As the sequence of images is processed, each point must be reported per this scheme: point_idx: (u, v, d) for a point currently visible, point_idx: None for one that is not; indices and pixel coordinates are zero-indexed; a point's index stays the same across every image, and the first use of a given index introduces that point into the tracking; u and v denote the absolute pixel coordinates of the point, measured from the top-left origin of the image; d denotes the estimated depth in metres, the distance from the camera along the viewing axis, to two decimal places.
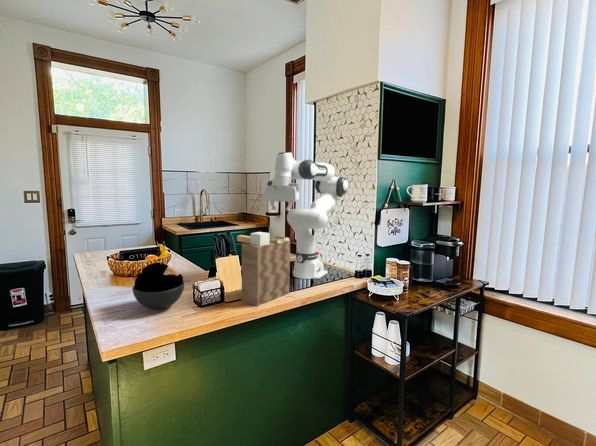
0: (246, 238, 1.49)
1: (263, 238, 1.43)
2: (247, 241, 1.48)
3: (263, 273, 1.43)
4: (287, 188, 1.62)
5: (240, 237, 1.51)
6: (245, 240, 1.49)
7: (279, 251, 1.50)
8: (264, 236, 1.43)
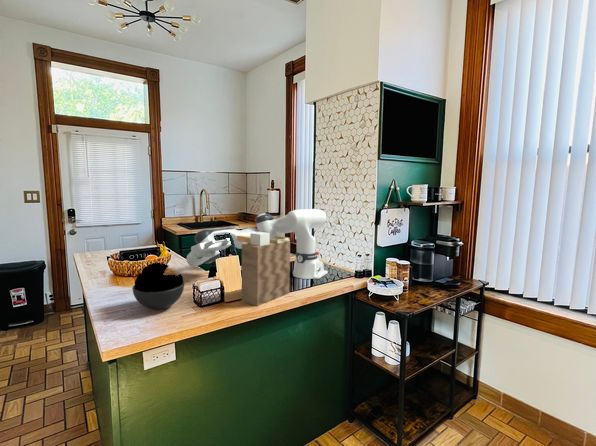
0: (246, 238, 1.49)
1: (263, 238, 1.43)
2: (247, 241, 1.48)
3: (263, 273, 1.43)
4: None
5: (240, 237, 1.51)
6: (245, 240, 1.49)
7: (279, 251, 1.50)
8: (264, 236, 1.43)
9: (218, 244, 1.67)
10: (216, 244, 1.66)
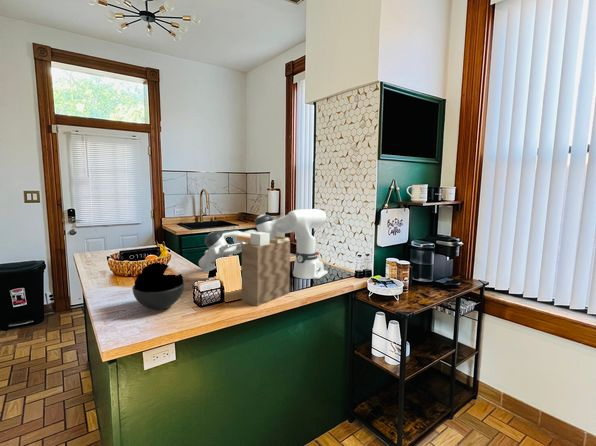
0: (246, 238, 1.49)
1: (263, 238, 1.43)
2: (247, 241, 1.48)
3: (263, 273, 1.43)
4: None
5: (240, 237, 1.51)
6: (245, 240, 1.49)
7: (279, 251, 1.50)
8: (264, 236, 1.43)
9: (233, 248, 1.59)
10: (231, 248, 1.58)
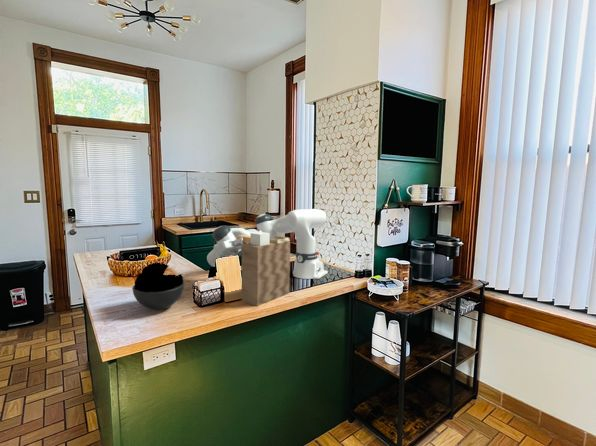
0: (246, 238, 1.49)
1: (263, 238, 1.43)
2: (247, 241, 1.48)
3: (263, 273, 1.43)
4: None
5: (240, 237, 1.51)
6: (245, 240, 1.49)
7: (279, 251, 1.50)
8: (264, 236, 1.43)
9: (242, 242, 1.55)
10: (240, 242, 1.55)
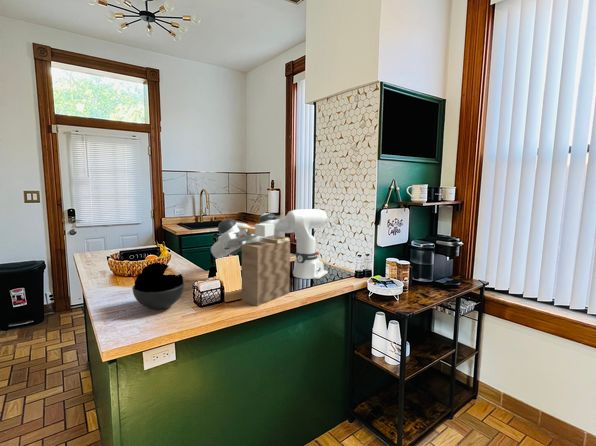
0: (250, 229, 1.50)
1: (267, 229, 1.44)
2: (251, 232, 1.50)
3: (263, 273, 1.43)
4: None
5: (244, 228, 1.53)
6: (249, 231, 1.51)
7: (279, 251, 1.50)
8: (268, 227, 1.45)
9: (246, 234, 1.57)
10: (244, 234, 1.56)
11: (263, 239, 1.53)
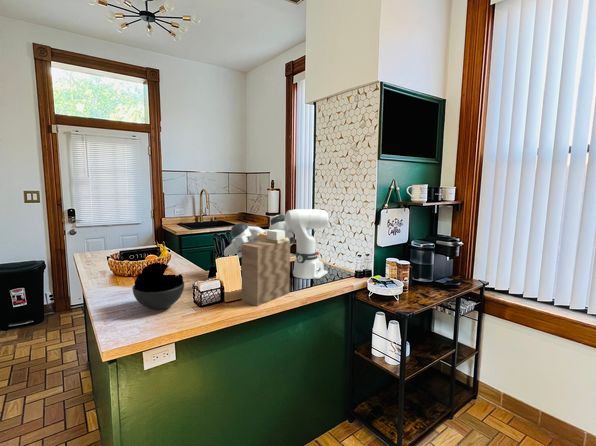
0: (262, 235, 1.57)
1: (279, 235, 1.51)
2: None
3: (263, 273, 1.43)
4: None
5: None
6: (261, 237, 1.58)
7: (279, 251, 1.50)
8: (280, 233, 1.52)
9: None
10: None
11: (263, 239, 1.53)
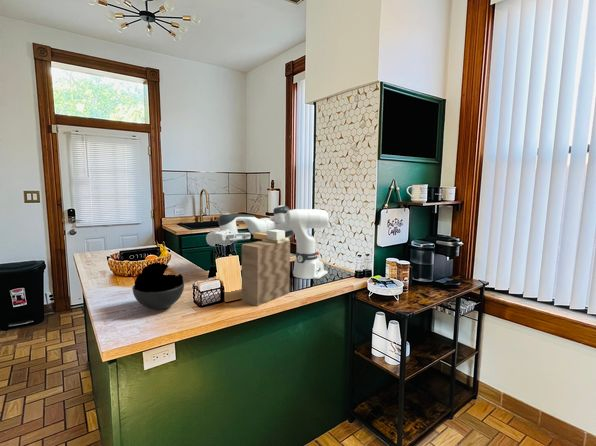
0: (262, 235, 1.57)
1: (279, 235, 1.51)
2: None
3: (263, 273, 1.43)
4: None
5: (257, 234, 1.60)
6: (261, 237, 1.58)
7: (279, 251, 1.50)
8: (280, 233, 1.52)
9: (238, 236, 1.75)
10: (237, 236, 1.74)
11: (263, 239, 1.53)
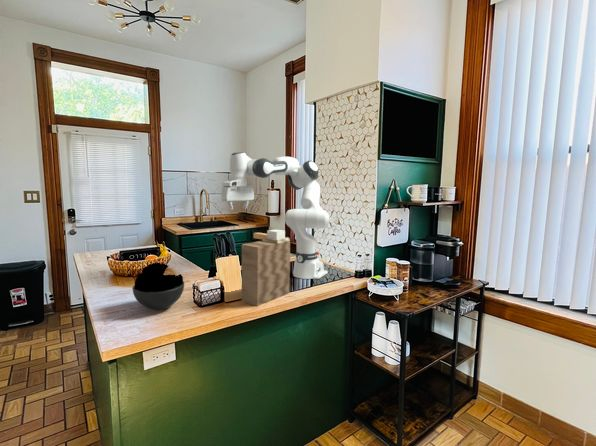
0: (262, 235, 1.57)
1: (279, 235, 1.51)
2: None
3: (263, 273, 1.43)
4: (247, 188, 1.74)
5: (257, 234, 1.60)
6: (261, 237, 1.58)
7: (279, 251, 1.50)
8: (280, 233, 1.52)
9: None
10: None
11: (263, 239, 1.53)
